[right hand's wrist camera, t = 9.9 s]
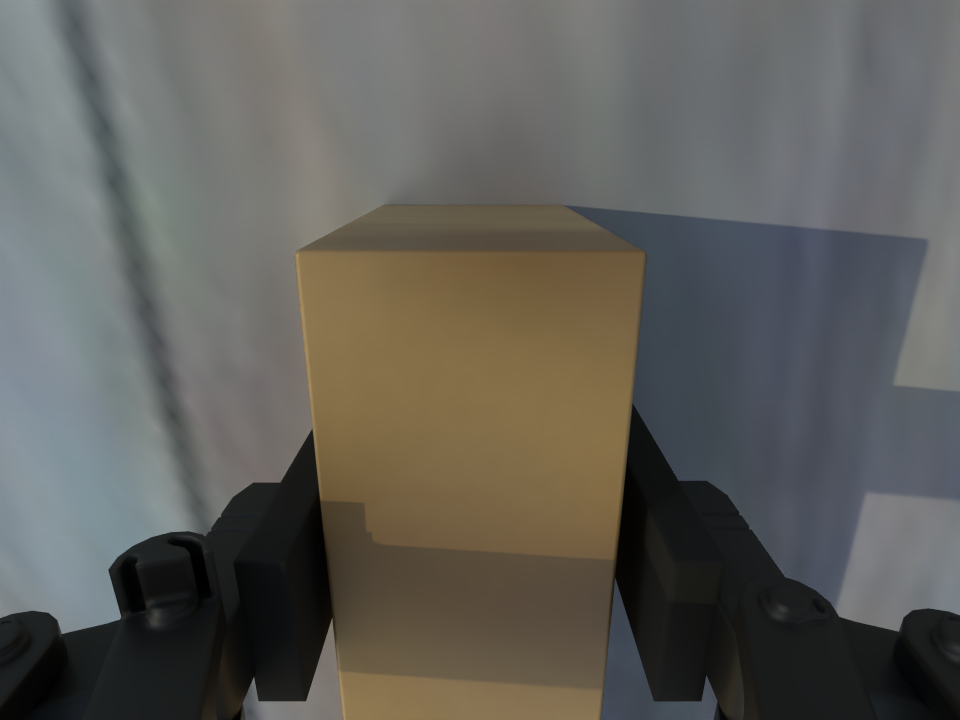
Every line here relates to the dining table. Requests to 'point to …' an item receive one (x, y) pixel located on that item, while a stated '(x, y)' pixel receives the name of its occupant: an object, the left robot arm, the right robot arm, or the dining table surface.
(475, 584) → the post
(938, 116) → the dining table surface
